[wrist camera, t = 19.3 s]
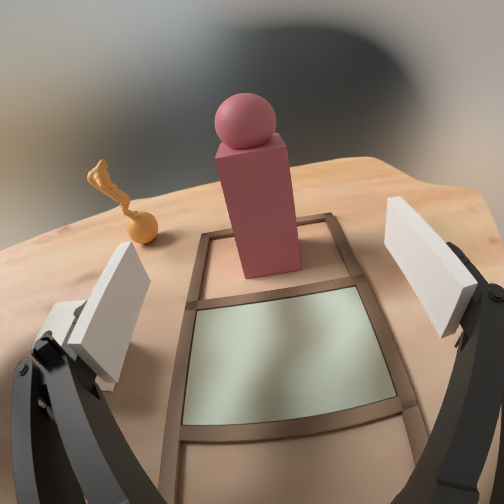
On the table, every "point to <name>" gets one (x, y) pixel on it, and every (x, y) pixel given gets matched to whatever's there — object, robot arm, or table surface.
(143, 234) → the figurine
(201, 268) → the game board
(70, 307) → the die
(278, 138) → the pawn
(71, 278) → the table surface
